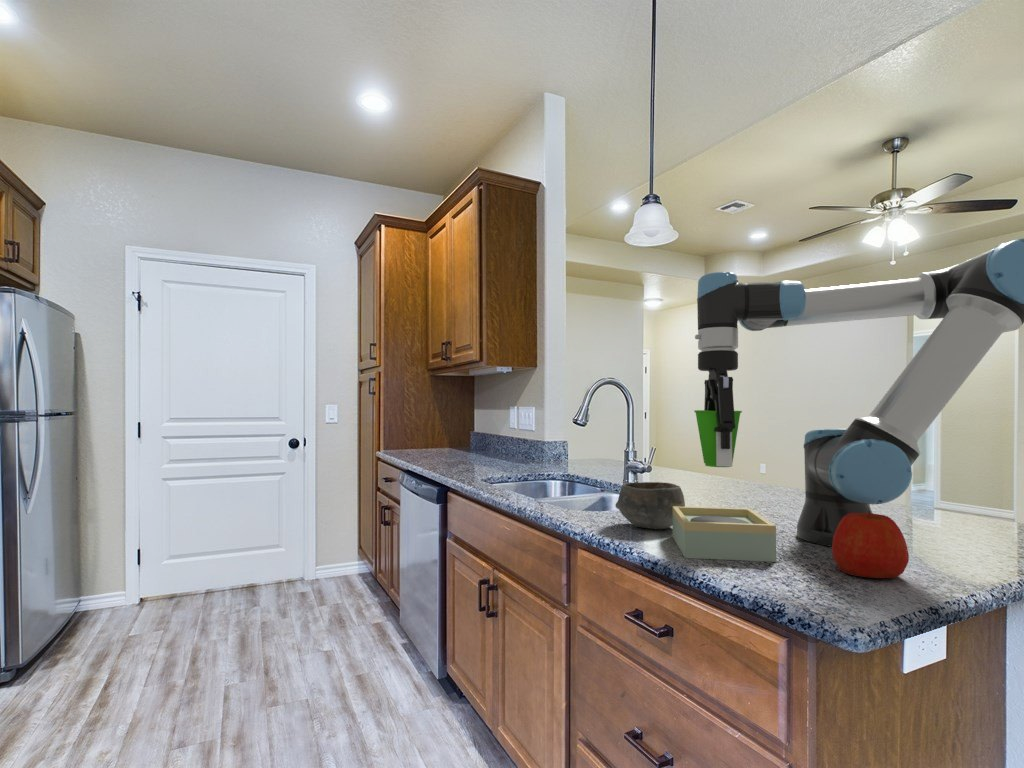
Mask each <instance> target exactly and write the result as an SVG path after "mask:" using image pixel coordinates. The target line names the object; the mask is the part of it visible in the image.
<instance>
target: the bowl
mask: <svg viewBox="0 0 1024 768" xmlns="http://www.w3.org/2000/svg"><path fill="white" fill-rule="evenodd" d="M685 501H686V500H685V496H684V492H683V490H682V488H681V486H680V485H677V484H676V483H669V482H663V481H661V482H660V481H659V482H658V481H657V482H656V481H646V482H645V481H643V482H625V483H622V486H621V488H620V491H619V495H618V499H617V502H616V503H615V505H614V506H615V508H616V509H617V510H619V512H620V513H621V515H622V516H623V517H624V518H625V519H626V520H627V521H628V522H629V523H630V524H631V525H633V526H634V527H638V528H641V529H642V528H643V529H648V530H649V529H650V530H666V529H668V528H670V527H673V509H672V506H678V507H686V502H685Z"/></svg>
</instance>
